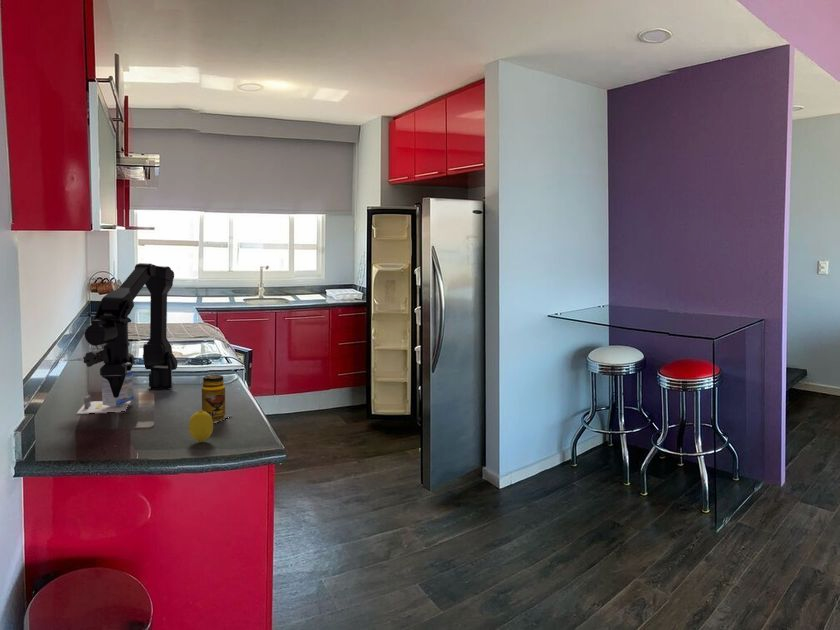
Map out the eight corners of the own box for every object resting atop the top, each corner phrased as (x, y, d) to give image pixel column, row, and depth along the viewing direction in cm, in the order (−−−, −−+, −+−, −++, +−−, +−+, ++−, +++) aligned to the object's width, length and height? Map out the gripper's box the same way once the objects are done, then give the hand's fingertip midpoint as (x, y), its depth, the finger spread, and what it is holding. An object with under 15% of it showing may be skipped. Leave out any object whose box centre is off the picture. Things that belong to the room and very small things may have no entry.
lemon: (192, 438, 148) (192, 406, 147) (215, 438, 149) (215, 407, 148) (186, 446, 143) (185, 413, 142) (210, 446, 143) (209, 413, 142)
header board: (131, 401, 180) (130, 390, 180) (125, 411, 169) (124, 400, 168) (86, 403, 176) (85, 391, 176) (76, 414, 165) (76, 402, 165)
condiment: (216, 424, 160) (215, 380, 159) (189, 420, 163) (188, 377, 162) (232, 417, 167) (232, 374, 166) (206, 413, 170) (206, 371, 168)
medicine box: (115, 406, 169) (114, 376, 168) (101, 405, 170) (100, 375, 169) (134, 399, 177) (133, 370, 176) (120, 398, 178) (120, 369, 177)
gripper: (92, 335, 178) (93, 387, 180) (77, 346, 160) (79, 403, 162) (133, 334, 181) (134, 385, 183) (124, 345, 164) (125, 401, 165)
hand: (118, 393), depth 173 cm, fingers closed on medicine box, 9 cm apart
